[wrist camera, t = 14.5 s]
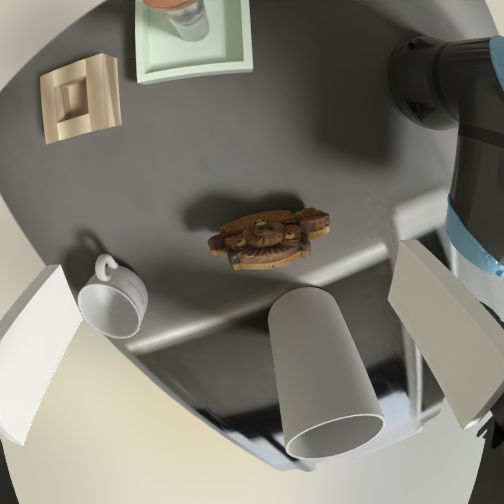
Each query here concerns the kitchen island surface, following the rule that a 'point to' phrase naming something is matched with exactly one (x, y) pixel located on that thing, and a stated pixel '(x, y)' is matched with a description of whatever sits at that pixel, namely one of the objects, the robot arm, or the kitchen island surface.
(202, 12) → the pin
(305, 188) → the kitchen island surface
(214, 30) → the tray
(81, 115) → the block
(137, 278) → the teacup
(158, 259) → the kitchen island surface
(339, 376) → the cylinder vase
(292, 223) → the wooden carving
